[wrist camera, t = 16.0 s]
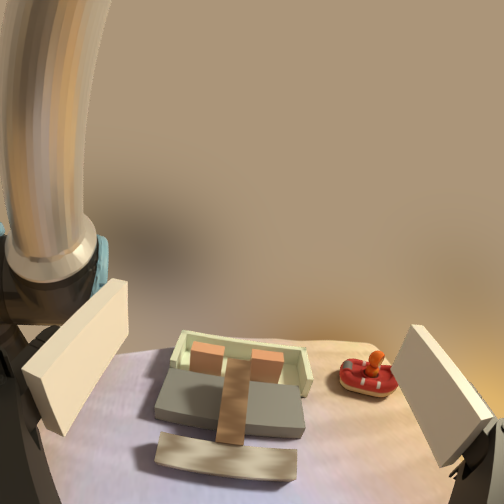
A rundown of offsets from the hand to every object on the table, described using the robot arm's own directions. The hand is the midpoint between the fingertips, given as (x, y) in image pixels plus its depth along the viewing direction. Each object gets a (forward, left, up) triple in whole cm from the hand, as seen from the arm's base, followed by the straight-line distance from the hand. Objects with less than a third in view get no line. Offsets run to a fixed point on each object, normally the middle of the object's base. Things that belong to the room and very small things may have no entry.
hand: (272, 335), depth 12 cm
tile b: (+4, +26, -23) cm, 35 cm away
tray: (+1, +29, -26) cm, 39 cm away
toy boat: (+24, +28, -27) cm, 45 cm away
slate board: (0, +20, -26) cm, 33 cm away
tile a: (-5, +25, -23) cm, 35 cm away
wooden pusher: (0, +7, -25) cm, 26 cm away
